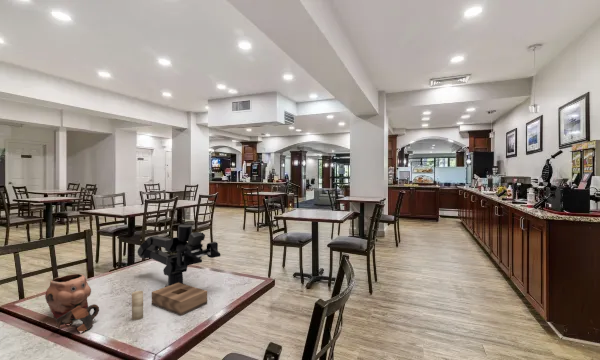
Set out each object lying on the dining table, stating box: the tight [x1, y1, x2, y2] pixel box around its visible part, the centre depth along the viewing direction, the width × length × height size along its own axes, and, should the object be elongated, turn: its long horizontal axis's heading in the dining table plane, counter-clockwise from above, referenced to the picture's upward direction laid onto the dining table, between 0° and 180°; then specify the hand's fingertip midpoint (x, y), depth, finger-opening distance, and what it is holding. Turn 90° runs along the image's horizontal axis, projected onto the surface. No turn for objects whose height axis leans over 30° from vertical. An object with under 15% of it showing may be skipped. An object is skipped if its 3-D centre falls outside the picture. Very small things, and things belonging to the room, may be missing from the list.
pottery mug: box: [54, 304, 100, 332], centre depth 99 cm, size 12×10×8 cm
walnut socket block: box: [151, 283, 208, 316], centre depth 116 cm, size 18×12×5 cm, turn 58°
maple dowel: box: [131, 290, 144, 321], centre depth 105 cm, size 4×4×9 cm
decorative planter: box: [44, 273, 92, 320], centre depth 107 cm, size 20×12×14 cm, turn 66°
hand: (211, 258), depth 120 cm, fingers open, 9 cm apart
